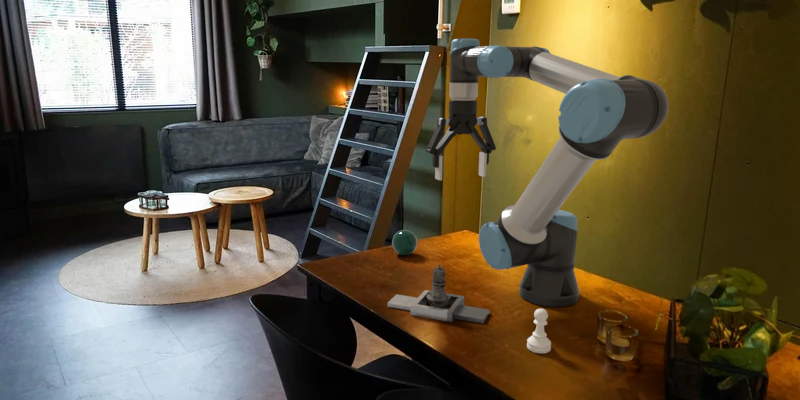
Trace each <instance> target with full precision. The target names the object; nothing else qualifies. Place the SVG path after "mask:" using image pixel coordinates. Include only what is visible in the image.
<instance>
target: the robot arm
mask: <svg viewBox="0 0 800 400" xmlns="http://www.w3.org/2000/svg"><path fill="white" fill-rule="evenodd" d="M480 45H481V44H480V40H479V39H477V38H455V39H452V40H451V42H450V52H449V90H448V91H449V93H448V94H449V95H448V97H449V98H450V99H449V101H448V114H449V115H448V118H443V117H439V118H437V123H436V128H435V130H434V132H433V133H432V136H431V139H430V140H429V142H428V145H427V147H426V150H425V152H426V153H427V154H429V155H430V154H431V155H432V167H433V168H434V179H435V180H437V181H443V157H444V156H443V155H441V154H442V153H443V151H444V150H445V148H447V146H448V145H449V143H451V141H452V140H453V138H455V136H456V135H458V136H461V135H470V136H471V138H472V139H473V140H474V142H475V143H476V144H477V146H478V147H479V148H480V150H481V151H479V154H478V156H479V157H478V176H480V177H482V178H486V177H487V165H489V163H490V154H492V151H496V150H497V149H496V148H497V147H496V144H495V141H494V139H493V136H492V134H491V131H490V129H489V127H488V118H487V117H485V116H478V117H477V114H478V101H477V100H476V99H477V98H478V97H479V78H480V77H482V78H489V79H496V78H497V79H498V78H524V79H525V78H526V79H528V80H530V81H532V82H533V81H534V82H536V83H538V84H541V85H544V86H546V87H548V88H550V89H553V90H555V91H558V92H559V93H563V94H565V95H564V96H563V98H562V100H561V102H560V104H559V109H558V111H559V112H560V115H558V116H557V117H558V124H559V125H558V134H559V139H558V140H557V141H556V143H555V145H553V147H552V149H551V150H550V152H549V153H548V155H547V156H546V158H545V159H544V161H543V163H542V164H541V166H540V167H539V168H538V169H537V172H536V173H535V174H534V176H533V177H532V179H531V180H530V182H529V183H528V185H527V186H526V188H525V190H524V191H523V193H522V194H521V196H520V197H519V198H518V200H517V202H516V203H515V204H513V205H508V206H507V207H505V209H504V210H503V211H502V212H501V214H500V215H499V217H498V218H497V219H496V220H495V221H488V222H486V223H484V224H483V225H482V226H481V227H480V230H479V232H478V233H479V234H478V244H479V249H480V250H479V251H480V252H481V255H482V257H483V258H484V260H485V262H486V264H488V266H490V267H491V268H492V269H494V270H500V271H501V270H509V269H513V268H518V267H522V266H527V267H526V268H525V271H524V273H523V276H522V278H521V281H520V283H519V288H518V289H519V291H518V293H519V296H520V297H521V298H522V299H524V300H525V301H527V302H529V303H531V304H534V305H539V306H544V307H550V308H552V307H553V308H557V307H558V308H559V307H567V306H568V307H570V306H572V305H574V304H577V302H578V301H579V298H580V289H579V285H578V281H577V276H576V274H575V259H576V250H577V240H578V232H579V229H578V218H577V216H576V215H575V214H574V213H572V212H570V211H566V210H563V209H560V208H561V207H562V206H563V204H564V203H565V202H566V201H567V200H568V198H569V197H570V195H571V194H572V193H573V191H574V190H575V189H576V187H577V186H578V185H579V184H580V182H581V181H582V179H583V178H584V177H585V176H586V174H587V173H588V171H589V170H590V169H591V167H592V166H593V165H594V163H596V161H601V160H606V159H608V158H609V157H610V156H611V154H612V153H613V151H615V149H616V148H617V146H618V145H619V144H620V142H621V141H623V140H629V139H630V140H631V139H639V138H640V139H641V138H645V137H647V136H649V135H652V134H653V133H655V132H656V131H658V130H659V128H660V127H662V125H664V122H665V121H666V120H667V117H668V115H669V106H670V105H669V104H670V103H669V99H668V96H667V94H666V92H665V91H664V89H663V88H662V87H661V86H660V85H659V84H658V83H656V82H653V81H651V80H648V79H644V78H640V77H637V76H633V75H630V74H625V75H621V76H617V75H615V74H611V73H609V72H606V71H603V70H600V69H598V68H595V67H592V66H591V67H590V66H587V65H585V64H582V63H579V62H577V61H573V60H571V59H567V58H564V57H561V56H558V55H555V54H552V53H551V52H550V51H549V49H548V48H545V47H541V46H540V47H539V46H505V45H499V44H498V45H497V44H491V45H481V46H480ZM477 125H478V127H479V130H480V132H481V135H482V136H481V135H480V134H479V131H478V129H477V128H476V126H477ZM447 126H449V127H448V128H447V130H446V131H445V129H446V127H447ZM444 132H445V134H444ZM443 134H444V135H443Z"/></svg>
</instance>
